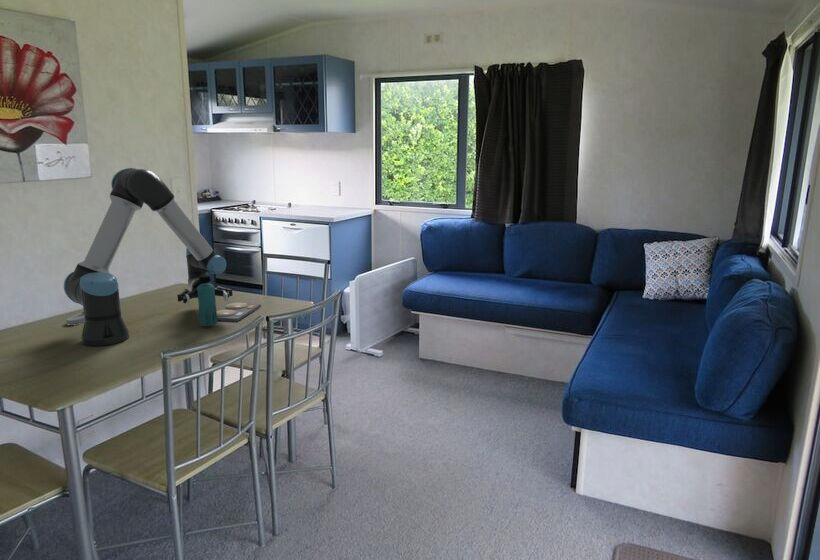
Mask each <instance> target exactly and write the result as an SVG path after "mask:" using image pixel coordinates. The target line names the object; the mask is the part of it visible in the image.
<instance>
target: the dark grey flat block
mask: <svg viewBox="0 0 820 560" xmlns="http://www.w3.org/2000/svg"><path fill="white" fill-rule="evenodd" d="M261 307H262V304H261V303H250V302H249V303H246V302H229V303H227V304H225V305H223V306H221V307H220V308H217V309H216V312H217V320H221V322H236V321H238V322H240V321H241V320H242V318H243V319H244V318H245V316H246V317H247V316H249V315H251V314H252V313H253V311H254V312H255V311H257V310H258V309H260V308H261ZM256 309H257V310H256ZM251 312H252V313H251ZM248 314H249V315H248ZM239 320H240V321H239Z"/></svg>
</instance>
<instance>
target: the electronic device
mask: <svg viewBox="0 0 820 560" xmlns="http://www.w3.org/2000/svg"><path fill="white" fill-rule="evenodd" d="M84 321H85V317H84V311H82V312H79V313H77V314H74V315H72V316H70V317H67V318H66V320H65V323H66V325H67V324H70V325H74V324H79V323H82V322H84ZM84 323H85V322H84ZM82 324H83V323H82ZM79 325H80V324H79ZM74 326H75V325H74Z"/></svg>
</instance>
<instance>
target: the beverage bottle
mask: <svg viewBox="0 0 820 560" xmlns="http://www.w3.org/2000/svg"><path fill="white" fill-rule="evenodd" d="M211 280H212V279H211V275H209V274H207V275H202V276H199V282H209V283H210V282H211ZM209 283H206V284H200V285H199V286H198V287H197V292H198V298H197V299H198V300H197V301H198V304H197V305H198V315H199V322H200V325H201V326H212V325H215V324H218V321H217V312H216V310H217V301H216V296H215V291H214V288H215V285H213V284H212V283H210V284H209Z"/></svg>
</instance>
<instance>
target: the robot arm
mask: <svg viewBox="0 0 820 560" xmlns="http://www.w3.org/2000/svg"><path fill="white" fill-rule="evenodd" d="M110 185H111V192H110V194H109V199H110V200H111V203H110V205H109V207H108V209H107V211H106V213H105V215H104V218H103V220H102V222H101V224H100V226H99V228H98V231H97V233H96V235H95V236H94V239H93V241H92V242H91V243H92V244H91V246H90V247H89V250H88V252H87V254H86V256H85V258H84V260H83V261H81V262H78V263H77V264H76V267H75V268H74V270H73V271H72V272H70V273H69V274H68V275H67V276H66V277H65V279H64V282H63V291H64V293H65V295H66V297H67V298H68V299H70V300H71V301H72V302H74V303H75V304H79V305H81V306H82V308H83V312H84V317H85V322H84V323H83V328H82V333H81V343H82V344H83V345H84V346H88V347H102V346H110V345H115V344H118V343H122V342H124V341H125V340H128V339H129V338H130V330H129V329H128V327H127V325H126V323H125V321H124V318H123V317H122V312H121V311H122V309H121V308H122V307H121V300H120V291H119V282H118V278H117V277H116V276H115V275H114V274H113V273H110V271H109V270H110V267H111V265H112V263H113V260H114V258H115V256H116V254H117V252H118V249H119V247H120V246H121V243H122V240H123V239H124V237H125V234H126V232H127V230H128V228H129V226H130V224H131V221H132V219H133V217H134V215H135V213H136V212H137V211H139V210H141V209H142V208H143V205H144V204H145V205H146V206H148V207H149V209H150V210H151V211H152V212H156V213H157V214H158V215H159V216H160V217H161V219H162V220H163V221H164V222H165V223H166V225H167V226H168V228H170V229H171V231H172V232H173V233H174V235H175V236H176V237H177V238H178V239H179V241H180V242H181V243H182V244H183V245H184V246H185V248H186V251H185V252H186V254H185V257H186V265H187V275H188V276H187V277H188V278H187V285H188V287H189V289H188V288H185V289H183V291H182V292H179V293H178V294H177V302H179V303H181V302H182V304H186V305H187V306H188V307H191V300H192V299H198V292H197V287H198V286H199V285H200V284H206V283H209V284H211V283H210V282H199V276H202V275H208V273H209V274H211V275H212V274H213V275H221V274H223V272H224V271H226V268H227V260H226V259H225V257H223V256H222V255H219V254H217V252H216V251H215V250H214V249H213V247H212V246H211V245H210V244H209V242H208V241H207V240H206V239H205V237H203V235H202V234H201V232H200V231H199V230H198V229H197V228H196V226H195V225H194V224H193V222H192V221H191V220H190V219H189V217H188V216H187V215H186V213H185V212H184V211H183V209H182V208H181V207H180V206H179V205H178V203H177V202H176V201H175V195H174V194H173V192H172V191H171V190H170V188H169V187H168V185H166V183H165V182H164V181H163V180H162V179H161V178H160V177H159V176H158V175H157V174H156V173H155V172H153V171H151V170H149V169H145V168H144V169H143V168H141V169H140V168H133V167H128V168H124V169H120V170H119V171H117V172H116V173H115V174H114V175H113V176H112V178H111V184H110ZM214 291H215V296H217V297H223V299H224V301H225V302H229V299H230V297H232V296H233V289H231V288H228V287H223V286H220V285H218V286H216V287H214Z"/></svg>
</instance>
